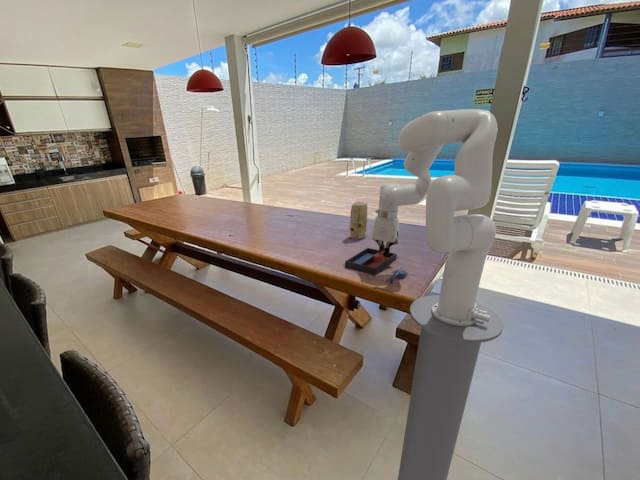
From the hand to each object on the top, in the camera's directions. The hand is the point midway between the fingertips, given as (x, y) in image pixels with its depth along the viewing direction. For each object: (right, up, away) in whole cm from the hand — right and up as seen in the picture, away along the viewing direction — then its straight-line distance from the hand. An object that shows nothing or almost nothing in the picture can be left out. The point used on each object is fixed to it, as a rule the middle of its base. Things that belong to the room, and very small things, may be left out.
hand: (383, 254), depth 135 cm
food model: (-4, +9, +30) cm, 32 cm away
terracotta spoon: (-1, -1, -1) cm, 2 cm away
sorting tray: (-6, -4, 0) cm, 7 cm away
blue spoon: (0, -10, -15) cm, 18 cm away
